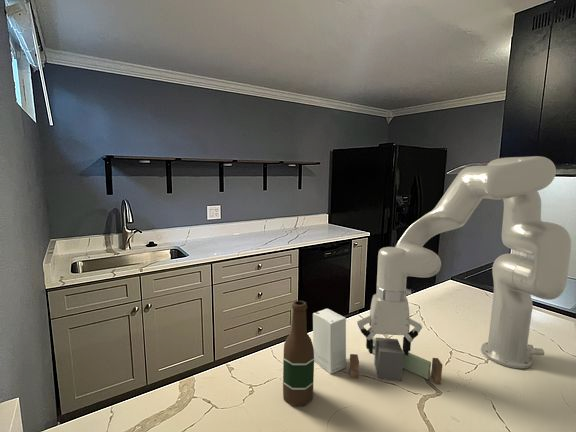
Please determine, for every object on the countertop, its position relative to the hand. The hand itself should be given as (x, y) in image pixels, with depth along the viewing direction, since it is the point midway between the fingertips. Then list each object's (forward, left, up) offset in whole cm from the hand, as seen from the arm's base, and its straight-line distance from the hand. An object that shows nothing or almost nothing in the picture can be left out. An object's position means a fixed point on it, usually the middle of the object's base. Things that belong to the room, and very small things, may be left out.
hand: (387, 351), depth 86 cm
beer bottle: (+24, +14, -5) cm, 28 cm away
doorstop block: (0, +1, -5) cm, 5 cm away
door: (-3, -2, -5) cm, 6 cm away
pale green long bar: (-1, +4, -5) cm, 6 cm away
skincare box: (+16, 0, -5) cm, 17 cm away
